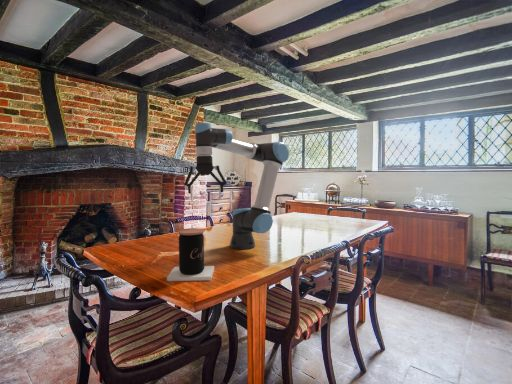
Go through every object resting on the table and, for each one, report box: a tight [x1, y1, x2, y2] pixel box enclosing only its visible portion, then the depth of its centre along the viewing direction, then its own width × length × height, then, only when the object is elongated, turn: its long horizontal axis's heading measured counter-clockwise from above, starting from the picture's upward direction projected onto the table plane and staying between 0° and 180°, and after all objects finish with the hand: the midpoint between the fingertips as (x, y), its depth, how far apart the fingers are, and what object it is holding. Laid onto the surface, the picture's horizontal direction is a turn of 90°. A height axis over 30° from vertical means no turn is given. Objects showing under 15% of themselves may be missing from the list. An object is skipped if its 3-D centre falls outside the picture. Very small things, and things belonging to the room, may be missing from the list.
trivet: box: [166, 265, 215, 282], centre depth 127 cm, size 18×14×2 cm
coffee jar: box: [178, 227, 205, 275], centre depth 126 cm, size 11×11×18 cm
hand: (206, 199), depth 141 cm, fingers open, 13 cm apart
